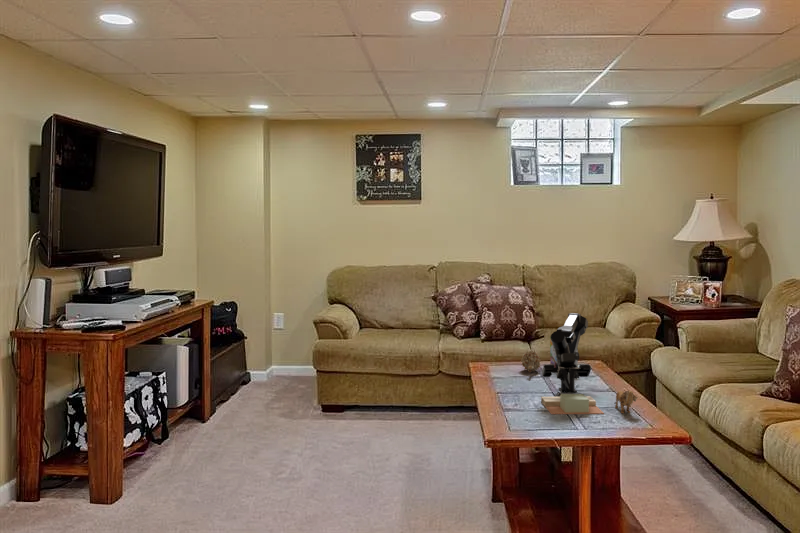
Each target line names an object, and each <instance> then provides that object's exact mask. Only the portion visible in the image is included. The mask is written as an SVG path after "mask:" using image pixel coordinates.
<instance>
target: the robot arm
mask: <svg viewBox="0 0 800 533" xmlns="http://www.w3.org/2000/svg"><path fill="white" fill-rule="evenodd" d="M588 328H589V321H588V319H587V318H586V317H585V316H583V315H581V313H577V312H576V313H575V312H569V313H568V315H567V318H566V320H565V322H564V324H563V325H562V326H560V327H558V328H557V329H556V330H555V331H554V332H552V333H551V334H550V337H549V339H550V338H551V341H552V344H553V347H554V348H555V353H556V358H557V365H556V368H555V367H554V365H553V364H549V363H546V364H545V363H544V365H543V366H542V369H541V374H542V377H543V378H550V377H551V376H552V375H553V374H556V379H559V380H560V387H558V390H559V391H560V392H561V393H578V391H577V389H576V387H575V385H576V384H575V383H576V382H575V381H576V380H575V379H580V378H588V377H589V375H590V373H591V371H592V367H591V365H590V364H589V363H588V364H587V363H579V365H578V366H577V364H576V360H578V361H579V360H580V353H579V351H578V352H577V348H579V343H580V339H581V337H582V336H583V335H584V334H585V333H586V331H587V329H588Z"/></svg>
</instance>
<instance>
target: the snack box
mask: <svg viewBox="0 0 800 533" xmlns="http://www.w3.org/2000/svg"><path fill="white" fill-rule="evenodd" d="M578 348H579V347H578ZM578 348H577V352H578V353H579V349H578ZM549 350H550V351H549V354H550V355H549V356H550V364H553V365H554V368H556V365H557V358H556V353H555V348H554V347H553V344H552V341H551V338H550V337H549ZM578 361H579V360H576V364H577V366H578V367H579V362H578Z"/></svg>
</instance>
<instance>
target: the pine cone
mask: <svg viewBox="0 0 800 533" xmlns="http://www.w3.org/2000/svg"><path fill="white" fill-rule="evenodd" d="M521 357H522V358H521V359H520V363H521V365H522V367H523V368H524V370H526V371H528V373H532V372H536V371H538V369H539V368H541V358H540V356H539V353H537V352H536V351H534V350H529V352H528V351H526V352H525V353H523V355H522V356H521Z"/></svg>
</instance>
